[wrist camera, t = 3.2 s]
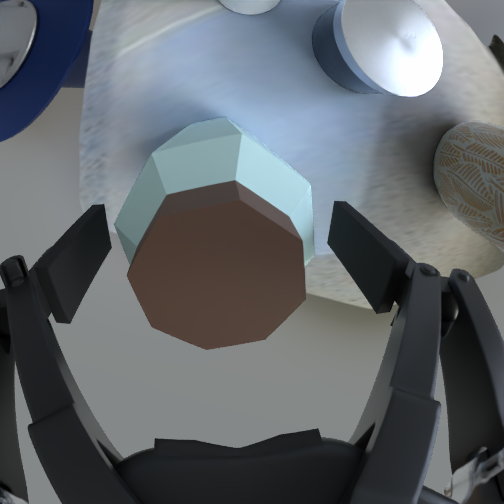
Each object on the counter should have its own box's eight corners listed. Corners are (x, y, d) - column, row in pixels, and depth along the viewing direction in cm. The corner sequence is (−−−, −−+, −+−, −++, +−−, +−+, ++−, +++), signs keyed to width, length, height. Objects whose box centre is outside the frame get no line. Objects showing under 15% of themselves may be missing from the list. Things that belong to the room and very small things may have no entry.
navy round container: (311, -5, 22) (340, -31, 14) (398, 22, 23) (440, 13, 16) (307, 85, 28) (339, 80, 20) (396, 103, 30) (440, 110, 22)
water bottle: (204, 211, 34) (197, 393, 13) (157, 147, 30) (40, 258, 8) (272, 168, 33) (379, 305, 11) (229, 99, 28) (272, 77, 6)
